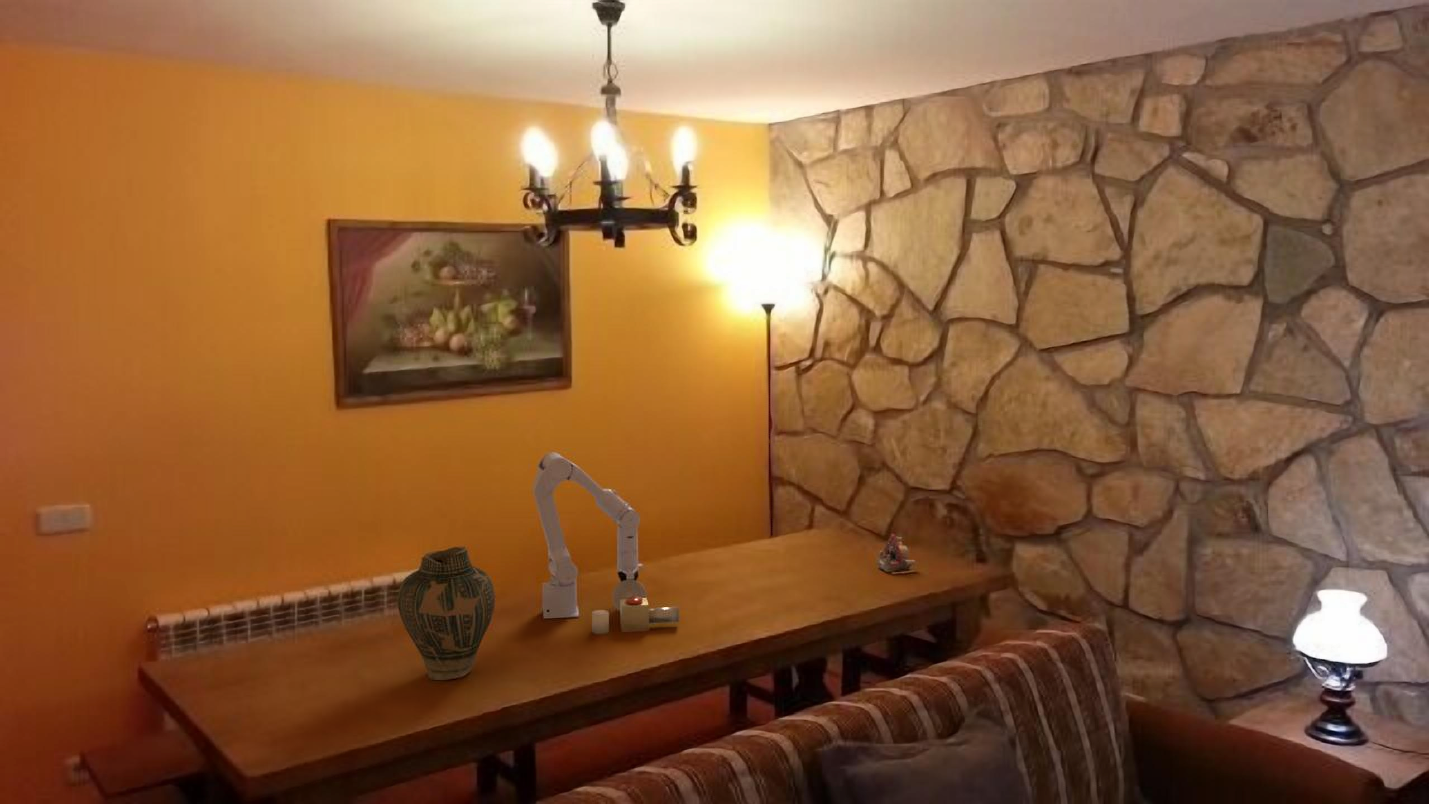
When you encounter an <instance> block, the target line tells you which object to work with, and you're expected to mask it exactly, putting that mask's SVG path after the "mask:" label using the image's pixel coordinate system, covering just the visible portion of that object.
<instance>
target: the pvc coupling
mask: <svg viewBox="0 0 1429 804" xmlns="http://www.w3.org/2000/svg"><path fill="white" fill-rule="evenodd" d="M609 617H610V612H609V611H608V610H605V609H598V610H597V609H596V610H593V611H592V612H591V632H592V634H597V635H605V634H608V633H609V632H610V619H609Z"/></svg>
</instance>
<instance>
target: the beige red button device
mask: <svg viewBox="0 0 1429 804" xmlns="http://www.w3.org/2000/svg"><path fill="white" fill-rule="evenodd" d="M679 610H680V609H679V607H678V606H669V607H668V606H667V607H665V606H664V607H650V606H649V601H648V597H647V598H641V597H628V598H626V599H620V611H619V616H620V617H619V619H620V620H619V621H620V624H619V625H620V629H621V632H622V633H632V632H633V633H635V632H649V631H650V624H651V625H652V624H653V625H654V624H665V623H666V624H667V623H668V624H669V623H679V622H680V613H679V612H680V611H679Z"/></svg>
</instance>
